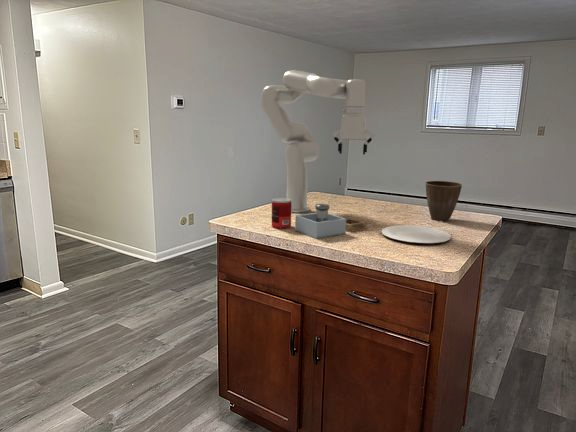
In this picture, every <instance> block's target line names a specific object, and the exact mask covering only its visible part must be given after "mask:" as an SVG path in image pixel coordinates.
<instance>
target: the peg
mask: <svg viewBox="0 0 576 432" xmlns="http://www.w3.org/2000/svg"><path fill="white" fill-rule="evenodd" d="M315 209H316V211H315V213H316V222H323V221H328V213H329V210H330V205H329V204H326V203H317V204H315Z"/></svg>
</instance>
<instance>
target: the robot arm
mask: <svg viewBox="0 0 576 432" xmlns="http://www.w3.org/2000/svg"><path fill="white" fill-rule="evenodd" d="M282 83H283V85H279V84H271V85H267V86H265V87H264V88H263V90H262V92H261V95H260V105H261V108H262V111H263V112H264V114H265V115H266V117H267V118H268V120H269V121H270V123H271V125H272V127H273V128H274V130H275V132H276V135H277V136H278V138H279V140H280V141H281V142H282V143H286V144H288V145H286V148H285V150H284V155H285V161H286V198H289V199H291V201H292V202H291V213H296V214H297V213H300V214H301V213H307V212H310V210H311V207H310V206H308V180H309V179H308V176H309V175H308V172H309V171H308V168H307V167H308V166H307V165H306V163H310V162H314V161H315V160H317V159H318V158H319V155H320V149H319V146H318V143H317V142H316V140H315V138H314V136H313V135H312V133H311V131H310V130H309V128H308V126H307V125H306V124H304V123H302V122H297V121H296V122H294V121H292V119H291V118H290V117H289V115H288V113H287V111H286V110H285V109H284V108H283V107H282V106H281V105H292V104H294V103H295V102H297V100H298V99H300V98H301V97H302V96H303V95H304V94H308V95H309V94H310V95H314V96H318V97H322V98H323V97H324V98H329V99H340V100H345V105H344V107H341V112H342V113H344V114H342V117H341V123H340V128H339V129H337V130H335V131H333V132H331V135H332V137H333V140H334V141H335V142H336V143H337V144H338V146H337V152H338V153H339V154H342V153H343V143H342V142H343V141H344V140H347V141H348V140H349V141H350V140H351V141H352V140H353V141H354V140H356V141H362V142H363V146H362V155H366V153H367V151H368V144H370V143H371V142H372V140H373V139H374V137H375V135H376V134H375V133H374V132H372V131H370V130H369V129H367V117H366V115H365V99H366V98H365V96H366V94H365V93H366V81H365V80H363V79H361V78H360V79H359V78H355V79H348V80H346V79H338V78H332V77H331V78H330V77H324V76H319V75H318V74H317V73H314V72H313V73H312V72H307V71H303V70H296V69H291V70H287V71H286V72H285V73H284V75H283V77H282ZM338 134H339V135H340V139H339V138H338V136H337V135H338ZM367 134H368V135H370V136H369V138H368V139H367V138H366V136H367Z"/></svg>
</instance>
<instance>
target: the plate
mask: <svg viewBox="0 0 576 432" xmlns="http://www.w3.org/2000/svg"><path fill="white" fill-rule="evenodd" d="M381 233H382V235H383V236H385V237H386V238H389V239H391V240H395V241H397V242H398V241H399V242H404V243H409V244H410V243H411V244H419V245H422V244H423V245H433V244H435V245H436V244H442V243H446V242H448V241H450V240H451V239H452V237H451V235H450V234H449V233H447V232H446V231H444V230H440V229H437V228H433V227H428V226H423V225H407V224H406V225H391V226H387V227H384V228H382V230H381Z"/></svg>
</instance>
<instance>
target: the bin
mask: <svg viewBox="0 0 576 432" xmlns="http://www.w3.org/2000/svg"><path fill="white" fill-rule="evenodd" d="M346 219H347V218H344V217H341V216H338V215H334V214H332V213H329V212H328V221H323V222H316V212H311V213H307V214H297V215H295V225H294V226H295V229H294V231H295V232H297V233H300V234H303V235H305V236H308V237H310V238H313V239H315V240H319V239H325V238H331V237H337V236H344V235H346V232H347V231H346Z"/></svg>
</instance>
